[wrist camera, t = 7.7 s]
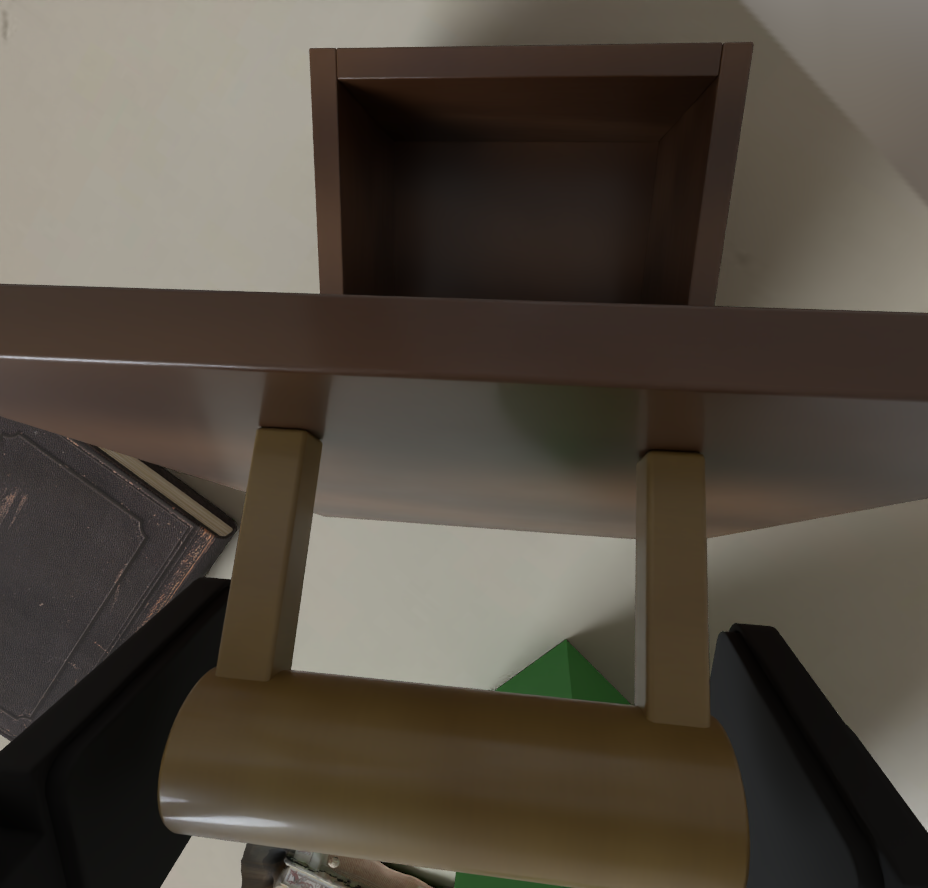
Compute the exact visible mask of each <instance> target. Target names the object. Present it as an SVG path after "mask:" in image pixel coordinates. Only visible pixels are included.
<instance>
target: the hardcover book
mask: <svg viewBox="0 0 928 888" xmlns="http://www.w3.org/2000/svg"><path fill="white" fill-rule="evenodd" d="M236 531H237V525H236V523H235V521H234V520H233V519H232V518H230V517H229V516H228V515H226V514H225V513H224V512H222V511H221V510H219V509H218V508H217V507H215V506H214V505H213V504H211V503H210V502H209V501H207V500H206V499H204V498H203V497H202V496H200V495H199V494H198V493H196V492H195V491H194V490H192V489H191V488H189V487H188V486H187V485H185V484H184V483H183V482H181V481H180V480H179V479H177V478H176V477H174V476H173V475H172V474H170V473H169V472H168V471H166V470H165V469H164V468H162V467H161V466H159V465H156V464H153V463H150V462H146V461H143V460H140V459H137V458H134V457H130V456H127V455H124V454H121V453H117V452H114V451H111V450H108V449H104V448H101V447H98V446H95V445H91V444H88V443H85V442H82V441H78V440H75V439H72V438H69V437H66V436H62V435H59V434H56V433H53V432H49V431H46V430H43V429H40V428H36V427H33V426H30V425H27V424H23V423H20V422H17V421H14V420H10V419H7V418H4V417H1V416H0V734H1V735H2V736H4V737H5V738H7V739H8V740H10V741H13V740H14V739H15V738H16V737H17V736H18V735H19V734H21V733H22V732H23V731H24V730H25V729H26V728H27V727H29V726H30V725H31V724H32V723H33V722H34V721H35V720H36V719H38V718H39V717H40V716H41V715H42V714H43V713H44V712H46V711H47V710H48V709H49V708H50V707H51V706H52V705H54V704H55V703H56V702H57V701H58V700H59V699H60V698H61V697H63V696H64V695H65V694H66V693H67V692H68V691H69V690H71V689H72V688H73V687H74V686H75V685H76V684H77V683H79V682H80V681H81V680H82V679H83V678H84V677H85V676H86V675H88V674H89V673H90V672H91V671H92V670H93V669H94V668H96V667H97V666H98V665H99V664H100V663H101V662H102V661H104V660H105V659H106V658H107V657H108V656H109V655H110V654H111V653H113V652H114V651H115V650H116V649H117V648H118V647H119V646H121V645H122V644H123V643H124V642H125V641H126V640H127V639H129V638H130V637H131V636H132V635H133V634H134V633H135V632H136V631H138V630H139V629H140V628H141V627H142V626H143V625H144V624H146V623H147V622H148V621H149V620H150V619H151V618H152V617H154V616H155V615H156V614H157V613H158V612H159V611H160V610H161V609H163V608H164V607H165V606H166V605H167V604H168V603H169V602H171V601H172V600H173V599H174V598H175V597H176V596H177V595H179V594H180V593H181V592H182V591H183V590H184V589H185V588H186V587H188V586H189V585H190V584H191V583H192V582H193V581H194V580H196V579H198V578H199V577H204V576H205V575H206V573H207V572H208V570H209V569H210V568H211V566H212V565H213V563H214V562H215V560H216V559H217V558H218V556H219V555H220V553H221V552H222V551H223V549H224V548H225V546H226V545H227V544H228V542H229V541H230V539H231V538H232V536H233V535H234V534H235V532H236Z"/></svg>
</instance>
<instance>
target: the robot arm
mask: <svg viewBox="0 0 928 888" xmlns="http://www.w3.org/2000/svg"><path fill="white" fill-rule="evenodd" d="M230 584H231V580H230V579H219V578H207V577H199V578H198V579H196V580H194V581H193V582H192V583H191V584H190V585H189V586H188V587H186V588H185V589H184V590H183V591H182V592H181V593H180V594H179V595H177V596H176V597H175V598H174V599H173V600H172V601H171V602H169V603H168V604H167V605H166V606H165V607H164V608H163V609H161V610H160V611H159V612H158V613H157V614H156V615H155V616H154V617H152V618H151V619H150V620H149V621H148V622H147V623H146V624H144V625H143V626H142V627H141V628H140V629H139V630H138V631H136V632H135V633H134V634H133V635H132V636H131V637H130V638H129V639H127V640H126V641H125V642H124V643H123V644H122V645H121V646H119V647H118V648H117V649H116V650H115V651H114V652H113V653H111V654H110V655H109V656H108V657H107V658H106V659H105V660H104V661H102V662H101V663H100V664H99V665H98V666H97V667H96V668H94V669H93V670H92V671H91V672H90V673H89V674H88V675H86V676H85V677H84V678H83V679H82V680H81V681H80V682H79V683H77V684H76V685H75V686H74V687H73V688H72V689H71V690H69V691H68V692H67V693H66V694H65V695H64V696H63V697H61V698H60V699H59V700H58V701H57V702H56V703H55V704H54V705H52V706H51V707H50V708H49V709H48V710H47V711H46V712H44V713H43V714H42V715H41V716H40V717H39V718H38V719H36V720H35V721H34V722H33V723H32V724H31V725H30V726H29V727H27V728H26V729H25V730H24V731H23V732H22V733H21V734H19V735H18V736H17V737H16V738H15V739H14V740H13V741H11V742H10V743H9V744H8V745H7V746H6V747H5V748H4V749H2V750H1V751H0V888H160V887H161V885H162V884H163V882H164V880H165V879H166V877H167V875H168V874H169V872H170V871H171V869H172V867H173V866H174V864H175V862H176V861H177V859H178V857H179V856H180V854H181V853H182V851H183V849H184V848H185V846H186V844H187V843H188V841H189V840H190V838H191V836H190V835H183V834H177V833H173V832H172V831H170V830H169V829H168V828H167V827H166V826H165V825H164V824H163V822H162V820H161V817H160V814H159V810H158V801H157V789H158V778H159V771H160V765H161V761H162V756H163V752H164V749H165V745H166V742H167V739H168V736H169V733H170V730H171V728H172V726H173V723H174V721H175V718H176V716H177V714H178V712H179V710H180V708H181V706H182V704H183V702H184V701H185V699H186V697H187V696H188V694H189V693H190V691H191V690H192V688H193V687H194V686H195V684H196V683H197V682H198V681H199V680H200V678H201V677H202V676H203V675H204V674H206V673H207V672H208V671H209V670H211V669H212V668H214V667H216V666H217V660H218V654H219V648H220V643H221V637H222V631H223V625H224V619H225V613H226V607H227V601H228V596H229V590H230ZM710 715H712V716H714V717H715V718H716V719H717V720H718V721H719V722H720V724H721V725H722V726H723V728H724V730H725V731H726V733H727V736H728V738H729V740H730V742H731V745H732V747H733V750H734V753H735V756H736V759H737V762H738V766H739V770H740V773H741V777H742V782H743V786H744V792H745V797H746V803H747V811H748V820H749V833H750V864H749V875H748V881H747V887H746V888H928V833H927V831H926V830H925V828H924V827H923V826H922V824H921V823H920V822H919V820H918V819H917V818H916V816H915V815H914V813H913V812H912V811H911V809H910V808H909V807H908V805H907V804H906V803H905V801H904V800H903V798H902V797H901V796H900V794H899V793H898V792H897V790H896V789H895V788H894V786H893V785H892V783H891V782H890V781H889V779H888V778H887V777H886V775H885V774H884V773H883V771H882V770H881V768H880V767H879V766H878V764H877V763H876V762H875V760H874V759H873V757H872V756H871V755H870V753H869V752H868V751H867V749H866V748H865V747H864V745H863V744H862V742H861V741H860V740H859V738H858V737H857V736H856V734H855V733H854V732H853V731H852V730H851V729H850V728H849V727H848V726H847V725H846V724H845V723H844V722H843V720H842V719H841V717H840V716H839V715H838V713H837V712H836V711H835V709H834V708H833V706H832V705H831V704H830V702H829V701H828V700H827V698H826V697H825V695H824V694H823V693H822V691H821V690H820V689H819V687H818V686H817V684H816V683H815V682H814V680H813V679H812V678H811V676H810V675H809V673H808V672H807V671H806V669H805V668H804V667H803V665H802V664H801V662H800V661H799V660H798V658H797V657H796V655H795V654H794V653H793V651H792V650H791V649H790V647H789V646H788V644H787V643H786V642H785V640H784V639H783V638H782V636H781V635H780V633H779V632H778V631H777V630H776V629H775V628H774V627H771V626H762V625H750V624H739V623H735V624H733V625H732V626H731V628H730V630H729V632H724V631H722V632H720V634H719V635H718V639H717V643H716V649H715V654H714V660H713V665H712V671H711V676H710Z"/></svg>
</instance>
